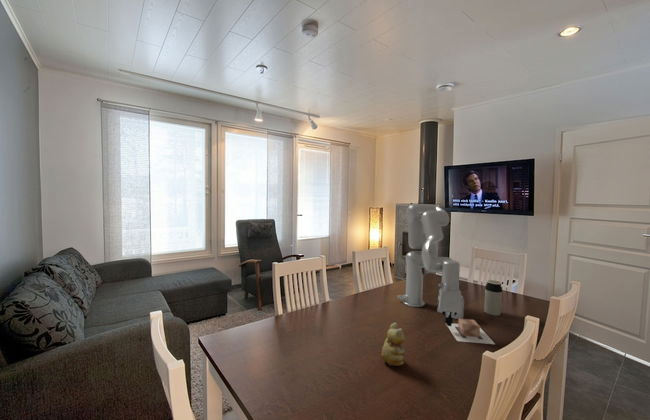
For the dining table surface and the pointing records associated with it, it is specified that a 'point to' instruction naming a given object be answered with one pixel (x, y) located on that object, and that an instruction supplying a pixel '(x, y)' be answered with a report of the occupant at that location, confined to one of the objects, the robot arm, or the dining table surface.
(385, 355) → the decorative figurine
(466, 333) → the brown block
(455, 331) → the letter card
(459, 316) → the can
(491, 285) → the travel mug
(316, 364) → the dining table surface
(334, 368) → the dining table surface
